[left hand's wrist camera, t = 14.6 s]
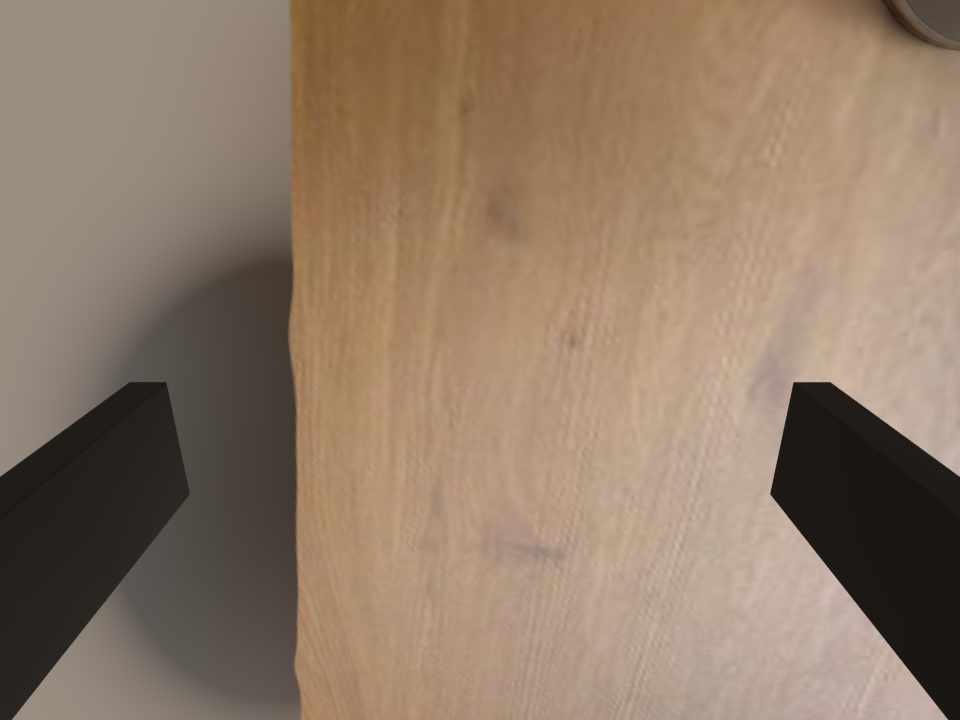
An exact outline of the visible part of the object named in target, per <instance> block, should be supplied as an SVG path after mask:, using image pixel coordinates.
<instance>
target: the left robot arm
mask: <svg viewBox="0 0 960 720" xmlns="http://www.w3.org/2000/svg"><path fill="white" fill-rule="evenodd" d="M885 2H886V4H887V6H888V7H889V9H890V10H891V12H892V13H893V14H894V16H895V17H896V18H897V19H898V21H899V22H900V23H901V24H902V25H903V26H904V27H905V28H907V29H908V30H909V31H910V32H912V33H913V34H914V35H916V36H917V37H919V38H921V39H923V40H924V41H926V42H929V43H931V44H934V45H936V46H939V47H943V48H947V49H954V50H960V0H885ZM189 494H190V493H189V488H188V483H187V479H186V474H185V469H184V465H183V460H182V455H181V450H180V445H179V440H178V436H177V431H176V426H175V421H174V417H173V412H172V407H171V402H170V398H169V393H168V388H167V383H166V382H130V383H128V384H127V385H125V386H124V387H123V388H121V389H120V390H119V391H117V392H116V393H114V394H113V395H112V396H110V397H109V398H108V399H106V400H105V401H103V402H102V403H101V404H99V405H98V406H97V407H95V408H94V409H93V410H91V411H90V412H88V413H87V414H86V415H84V416H83V417H82V418H80V419H79V420H77V421H76V422H75V423H73V424H72V425H71V426H69V427H68V428H67V429H65V430H64V431H62V432H61V433H60V434H58V435H57V436H56V437H54V438H53V439H51V440H50V441H49V442H47V443H46V444H45V445H43V446H42V447H40V448H39V449H38V450H36V451H35V452H34V453H32V454H31V455H30V456H28V457H27V458H25V459H24V460H23V461H21V462H20V463H19V464H17V465H16V466H15V467H13V468H12V469H10V470H9V471H8V472H6V473H5V474H4V475H2V476H1V477H0V720H12V719H13V717H14V716H15V715H16V714H17V712H18V711H19V710H20V709H21V707H22V706H23V705H24V704H25V702H26V701H27V700H28V698H29V697H30V696H31V695H32V693H33V692H34V691H35V690H36V688H37V687H38V686H39V684H40V683H41V682H42V681H43V679H44V678H45V677H46V676H47V674H48V673H49V672H50V671H51V669H52V668H53V667H54V665H55V664H56V663H57V662H58V660H59V659H60V658H61V657H62V655H63V654H64V653H65V652H66V650H67V649H68V648H69V647H70V645H71V644H72V643H73V641H74V640H75V639H76V638H77V636H78V635H79V634H80V633H81V631H82V630H83V629H84V628H85V626H86V625H87V624H88V622H89V621H90V620H91V619H92V617H93V616H94V615H95V614H96V612H97V611H98V610H99V608H100V607H101V606H102V605H103V603H104V602H105V601H106V600H107V598H108V597H109V596H110V595H111V593H112V592H113V591H114V590H115V588H116V587H117V586H118V584H119V583H120V582H121V581H122V579H123V578H124V577H125V576H126V574H127V573H128V572H129V571H130V569H131V568H132V567H133V565H134V564H135V563H136V562H137V560H138V559H139V558H140V557H141V555H142V554H143V553H144V552H145V550H146V549H147V548H148V546H149V545H150V544H151V543H152V541H153V540H154V539H155V538H156V536H157V535H158V534H159V533H160V531H161V530H162V529H163V527H164V526H165V525H166V524H167V522H168V521H169V520H170V519H171V517H172V516H173V515H174V513H175V512H176V511H177V510H178V508H179V507H180V506H181V505H182V503H183V502H184V501H185V499H186V498H187V497H188V496H189ZM770 495H771V496H772V497H773V498H774V500H775V501H776V502H777V503H778V505H779V506H780V507H781V508H782V510H783V511H784V512H785V514H786V515H787V516H788V517H789V519H790V520H791V521H792V522H793V524H794V525H795V526H796V527H797V529H798V530H799V531H800V533H801V534H802V535H803V536H804V538H805V539H806V540H807V541H808V543H809V544H810V545H811V546H812V548H813V549H814V550H815V552H816V553H817V554H818V555H819V557H820V558H821V559H822V560H823V562H824V563H825V564H826V565H827V567H828V568H829V569H830V571H831V572H832V573H833V574H834V576H835V577H836V578H837V579H838V581H839V582H840V583H841V584H842V586H843V587H844V588H845V590H846V591H847V592H848V593H849V595H850V596H851V597H852V598H853V600H854V601H855V602H856V603H857V605H858V606H859V607H860V609H861V610H862V611H863V612H864V614H865V615H866V616H867V617H868V619H869V620H870V621H871V622H872V624H873V625H874V626H875V628H876V629H877V630H878V631H879V633H880V634H881V635H882V636H883V638H884V639H885V640H886V641H887V643H888V644H889V645H890V647H891V648H892V649H893V650H894V652H895V653H896V654H897V655H898V657H899V658H900V659H901V660H902V662H903V663H904V664H905V666H906V667H907V668H908V669H909V671H910V672H911V673H912V674H913V676H914V677H915V678H916V679H917V681H918V682H919V683H920V685H921V686H922V687H923V688H924V690H925V691H926V692H927V693H928V695H929V696H930V697H931V698H932V700H933V701H934V702H935V704H936V705H937V706H938V707H939V709H940V710H941V711H942V712H943V714H944V715H945V716H946V717H947V719H948V720H960V477H959V476H958V475H956V474H955V473H954V472H952V471H951V470H950V469H948V468H947V467H946V466H944V465H943V464H941V463H940V462H939V461H937V460H936V459H935V458H933V457H932V456H930V455H929V454H928V453H926V452H925V451H924V450H922V449H921V448H920V447H918V446H917V445H915V444H914V443H913V442H911V441H910V440H909V439H907V438H906V437H904V436H903V435H902V434H900V433H899V432H898V431H896V430H895V429H894V428H892V427H891V426H889V425H888V424H887V423H885V422H884V421H883V420H881V419H880V418H878V417H877V416H876V415H874V414H873V413H872V412H870V411H869V410H868V409H866V408H865V407H863V406H862V405H861V404H859V403H858V402H857V401H855V400H854V399H852V398H851V397H850V396H848V395H847V394H846V393H844V392H843V391H841V390H840V389H839V388H837V387H836V386H835V385H833V384H832V383H831V382H794V383H793V388H792V393H791V398H790V402H789V407H788V412H787V417H786V421H785V426H784V431H783V436H782V440H781V445H780V450H779V455H778V460H777V464H776V469H775V474H774V479H773V483H772V488H771V493H770Z"/></svg>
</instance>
